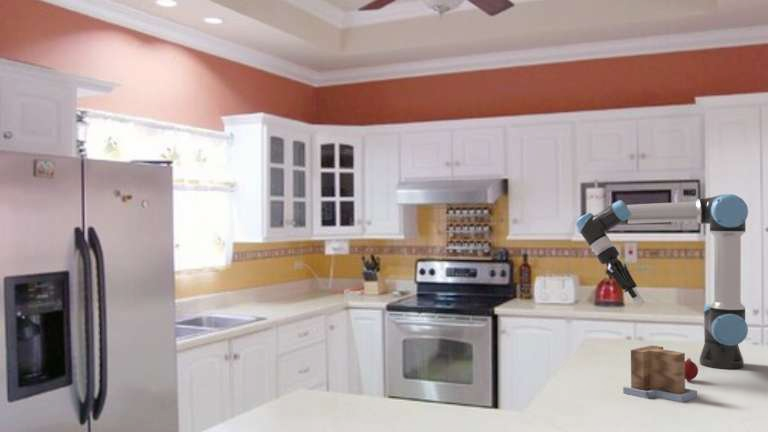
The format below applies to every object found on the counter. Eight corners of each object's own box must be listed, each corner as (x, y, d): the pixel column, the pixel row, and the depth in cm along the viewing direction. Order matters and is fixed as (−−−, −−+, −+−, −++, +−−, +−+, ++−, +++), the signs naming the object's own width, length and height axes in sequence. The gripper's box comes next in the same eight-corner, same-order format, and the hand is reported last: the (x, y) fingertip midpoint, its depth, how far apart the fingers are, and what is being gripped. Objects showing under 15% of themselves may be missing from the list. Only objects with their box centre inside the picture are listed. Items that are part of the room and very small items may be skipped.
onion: (699, 383, 242) (699, 360, 242) (682, 382, 243) (681, 359, 243) (696, 379, 248) (695, 356, 248) (678, 378, 249) (678, 356, 249)
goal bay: (703, 394, 228) (703, 388, 228) (675, 404, 217) (675, 398, 217) (651, 384, 242) (651, 378, 242) (623, 393, 231) (623, 387, 231)
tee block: (691, 394, 228) (690, 351, 228) (671, 401, 221) (670, 356, 221) (651, 386, 239) (650, 345, 239) (631, 392, 232) (630, 350, 232)
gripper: (604, 255, 274) (640, 307, 265) (589, 257, 264) (626, 312, 255) (619, 244, 269) (656, 297, 261) (605, 246, 260) (643, 301, 251)
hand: (641, 304), depth 258 cm, fingers closed
